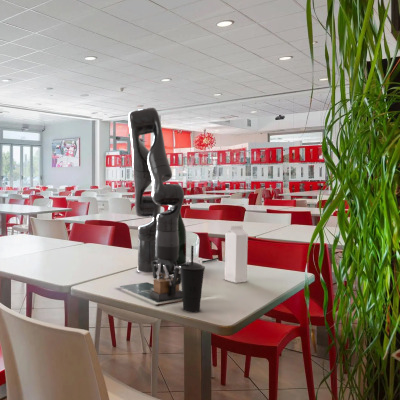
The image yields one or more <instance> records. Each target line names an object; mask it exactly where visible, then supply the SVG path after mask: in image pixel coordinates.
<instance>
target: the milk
mask: <svg viewBox="0 0 400 400" xmlns="http://www.w3.org/2000/svg"><path fill="white" fill-rule="evenodd" d="M224 239H225V240H224V280H225V281H227V282H231V283H233V284H238V283H246V282H247V281H248V249H249V247H248V245H249V242H248V241H249V235H248V233H247V232H246V231H245V230H244V229H243V225H231V226H230V230H229V231H227V232H225V238H224Z"/></svg>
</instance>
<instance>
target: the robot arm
mask: <svg viewBox="0 0 400 400" xmlns="http://www.w3.org/2000/svg"><path fill="white" fill-rule="evenodd" d="M127 123H128V131H129V137H130V144H131V161H132V162H131V163H132V174H133V183H134V211H135V212H134V213H135V214H136V216H137V217H140V218H152V219H151V220H150V221H149V222H146V223H144V224H140V225H139V226H138V228H137V232H138V233H137V265H136V267H137V273H149V274H150V273H152V278H153V280H154V279H162V278H167V279H168V282H169V297H174V296H175V294H176V285H179V286H180V285H181V272H180V268H179V266H180V265H181V264H177V263H176V260H177V259H178V252H179V236H178V218H179V214H180V211H181V209H182V207H183V204H184V199H185V191H184V189H183V186H182V185H180V184H178V183H166V182H168V181H170V180H171V179H172V177H173V171H172V169H171V165H170V162H169V158H168V155H167V152H166V147H165V146H166V145H165V139H164V134H163V129H162V124H161V119H160V115H159V112H158V110H157V109H156V108H155V107H146V108H141V109H135V110H132V111H130V112H129V113H128V116H127ZM149 134H153V140H152V142H151V143H152V144H151V146H150V148H149V149H148V148H147V147H146V145H144V144H143V141H142V140H141V139H140V137H141V136H142V135H149ZM150 185H151V193H150V194H151V195H144V193H145V192H146V190H147V189H148V188H149V186H150ZM161 206H168V208H167V209H166V210H165V211H162V212H161V208H162V207H161ZM219 259H220V257H214V258H211V259H205V260H202V264H203V263H208V262H212V261H216V260H219ZM183 264H184V263H183ZM171 278H172V279H173V282H172V280H171ZM177 279H178V280H177Z"/></svg>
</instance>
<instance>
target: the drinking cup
mask: <svg viewBox="0 0 400 400" xmlns="http://www.w3.org/2000/svg"><path fill="white" fill-rule="evenodd" d="M190 257H191V262H189V261H188V262H187V261H186V263H184V264H181V265H179V266H178V267H179V268H180V272H181V284H180V285H181V291H182V297H183V298H182V300H183V302H182V307H183V311H185V312H187V313H198V312H200V310H201V300H202V292H203V283H204V282H203V281H204V272H205V269H206V266H205V265H203V264H202V265H201V264H199V263H195V262H193V257H194V245H191V246H190Z"/></svg>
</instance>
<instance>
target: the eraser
mask: <svg viewBox="0 0 400 400" xmlns="http://www.w3.org/2000/svg"><path fill="white" fill-rule="evenodd" d="M171 280H172V282H173V279H172V278H171ZM177 280H178V278H177ZM153 285H154V291H150V297H151V298H153V299H156V300H158V301H162V300H168V299H174V298H180V297H182V289H181V290H180V284H179V285H176V294H175V296H174V297H169V282H168V279H167V278H166V277H165V278H162V279H156V278H155V279H154V278H153Z"/></svg>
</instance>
